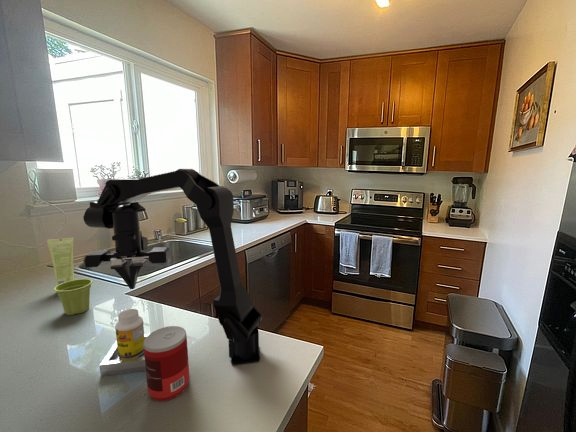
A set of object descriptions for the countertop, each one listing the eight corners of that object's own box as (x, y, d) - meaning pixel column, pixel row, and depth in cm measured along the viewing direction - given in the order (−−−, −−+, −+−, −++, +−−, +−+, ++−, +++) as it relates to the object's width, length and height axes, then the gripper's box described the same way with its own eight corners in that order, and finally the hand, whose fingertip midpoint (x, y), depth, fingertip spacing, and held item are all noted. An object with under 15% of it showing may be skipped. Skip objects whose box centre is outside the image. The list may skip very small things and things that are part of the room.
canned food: (194, 372, 61) (191, 325, 59) (181, 402, 53) (177, 348, 51) (158, 373, 61) (154, 325, 59) (140, 403, 53) (135, 349, 51)
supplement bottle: (113, 356, 64) (108, 315, 63) (136, 343, 69) (132, 304, 68) (127, 364, 62) (123, 321, 60) (150, 350, 67) (147, 310, 65)
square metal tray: (166, 341, 72) (166, 332, 71) (155, 369, 62) (155, 358, 61) (119, 346, 70) (118, 337, 69) (100, 376, 60) (99, 365, 59)
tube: (68, 286, 107) (61, 236, 104) (80, 287, 106) (73, 236, 103) (53, 292, 101) (46, 240, 98) (65, 293, 100) (58, 240, 97)
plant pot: (75, 319, 83) (72, 292, 81) (49, 316, 85) (45, 289, 83) (102, 305, 92) (99, 279, 90) (78, 302, 94) (75, 277, 92)
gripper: (173, 222, 80) (176, 274, 82) (100, 225, 76) (106, 279, 79) (163, 230, 69) (168, 290, 72) (78, 233, 66) (86, 296, 68)
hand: (132, 288), depth 73 cm, fingers closed
